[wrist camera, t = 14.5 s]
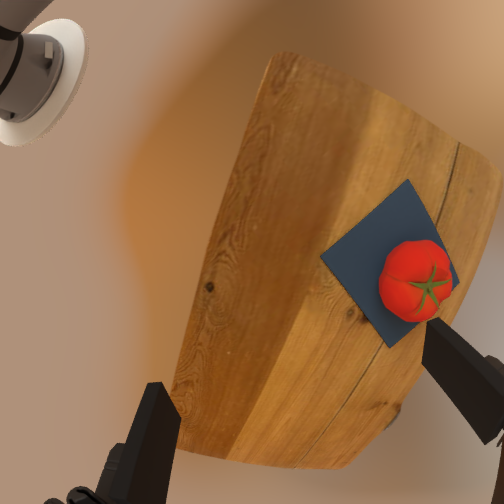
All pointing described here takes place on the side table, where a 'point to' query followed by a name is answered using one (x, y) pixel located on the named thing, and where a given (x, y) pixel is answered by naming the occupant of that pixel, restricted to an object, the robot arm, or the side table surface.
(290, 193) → the side table surface
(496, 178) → the side table surface
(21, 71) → the robot arm
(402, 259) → the tomato
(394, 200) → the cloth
